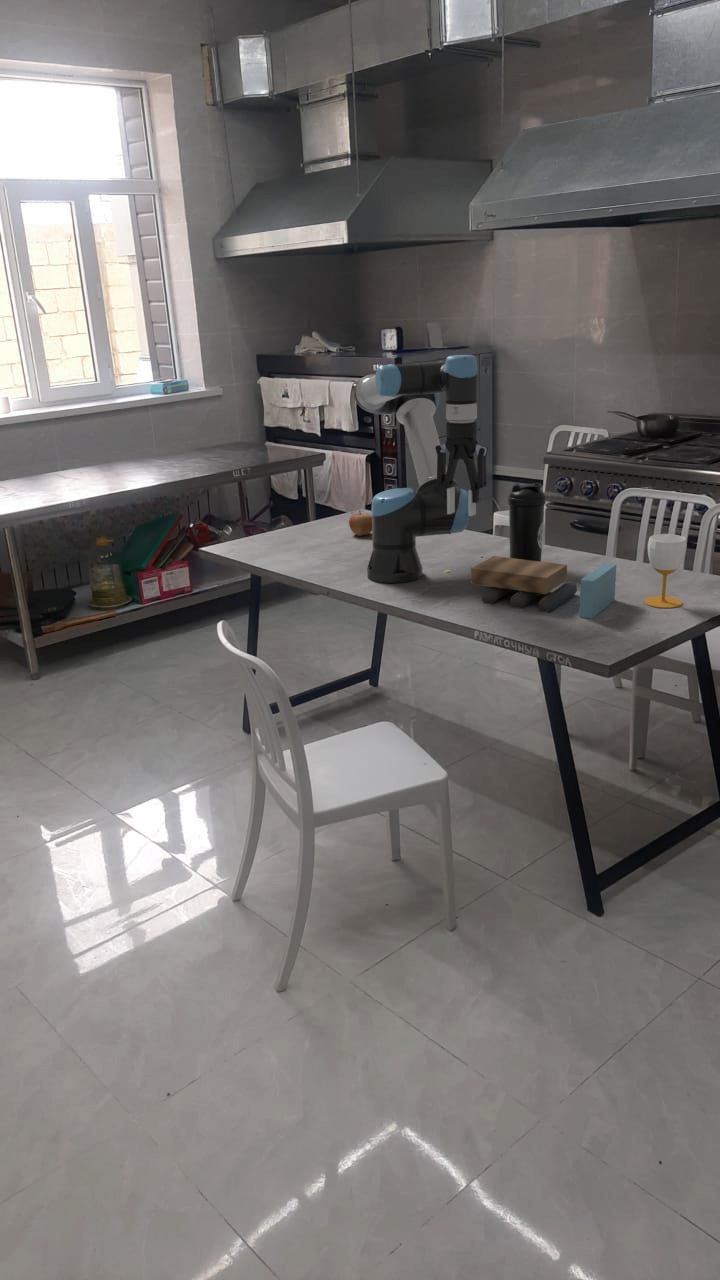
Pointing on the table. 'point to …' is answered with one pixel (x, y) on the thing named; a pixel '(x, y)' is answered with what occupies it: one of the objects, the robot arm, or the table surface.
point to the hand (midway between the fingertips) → (461, 513)
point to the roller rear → (494, 594)
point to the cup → (665, 564)
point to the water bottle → (526, 521)
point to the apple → (361, 524)
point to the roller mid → (522, 598)
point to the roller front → (557, 597)
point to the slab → (519, 574)
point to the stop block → (597, 590)
